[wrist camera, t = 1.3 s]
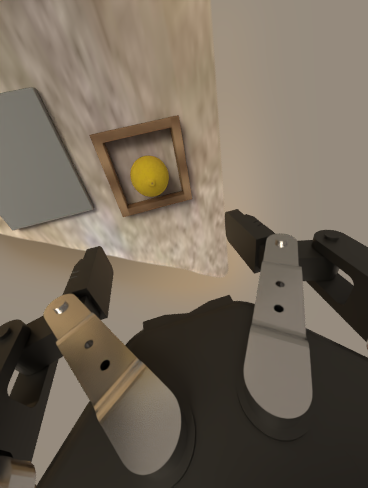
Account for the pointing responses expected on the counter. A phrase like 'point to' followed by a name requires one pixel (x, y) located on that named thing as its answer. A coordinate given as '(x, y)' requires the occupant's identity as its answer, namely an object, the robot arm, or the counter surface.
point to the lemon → (149, 176)
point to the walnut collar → (113, 180)
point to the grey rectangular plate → (35, 165)
